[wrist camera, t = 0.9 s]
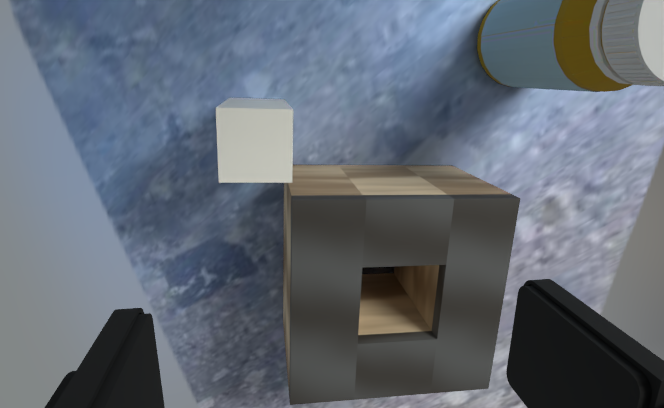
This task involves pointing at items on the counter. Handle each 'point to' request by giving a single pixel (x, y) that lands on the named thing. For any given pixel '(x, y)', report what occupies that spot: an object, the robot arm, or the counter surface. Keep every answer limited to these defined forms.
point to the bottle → (573, 44)
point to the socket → (392, 280)
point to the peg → (254, 141)
